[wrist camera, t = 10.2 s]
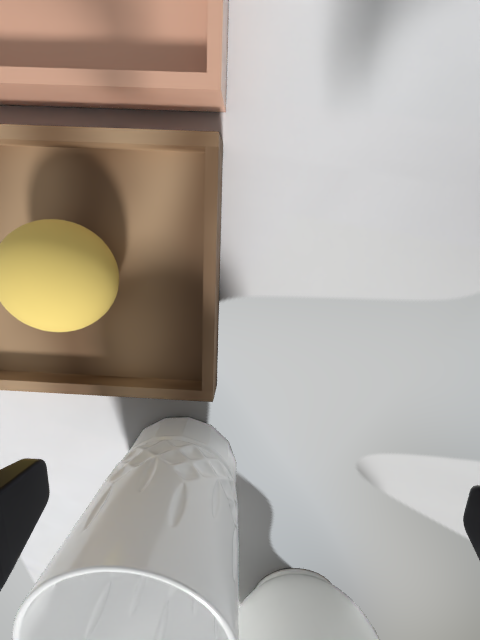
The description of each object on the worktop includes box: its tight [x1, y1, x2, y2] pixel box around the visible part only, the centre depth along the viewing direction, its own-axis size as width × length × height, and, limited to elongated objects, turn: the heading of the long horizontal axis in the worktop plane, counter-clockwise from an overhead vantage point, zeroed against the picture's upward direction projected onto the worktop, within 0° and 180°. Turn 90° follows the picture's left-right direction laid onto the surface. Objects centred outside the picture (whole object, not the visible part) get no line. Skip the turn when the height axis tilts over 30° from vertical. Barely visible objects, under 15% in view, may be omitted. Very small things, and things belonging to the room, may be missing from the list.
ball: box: [0, 219, 119, 332], centre depth 15 cm, size 5×5×5 cm
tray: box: [0, 124, 223, 402], centre depth 17 cm, size 14×13×2 cm
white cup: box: [12, 417, 239, 640], centre depth 16 cm, size 8×8×10 cm
